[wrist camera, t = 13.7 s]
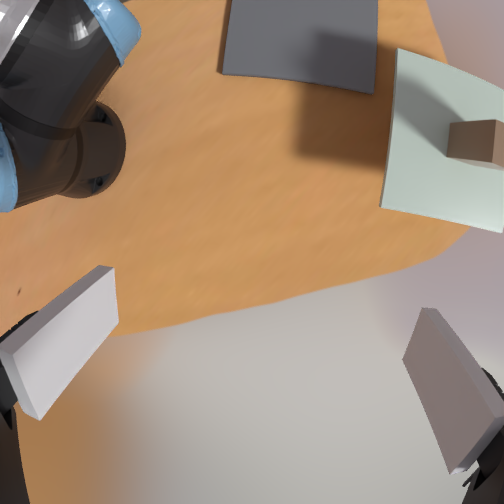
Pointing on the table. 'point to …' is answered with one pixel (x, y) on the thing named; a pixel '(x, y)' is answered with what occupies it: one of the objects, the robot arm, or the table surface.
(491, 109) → the lid
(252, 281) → the table surface
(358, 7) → the mat
